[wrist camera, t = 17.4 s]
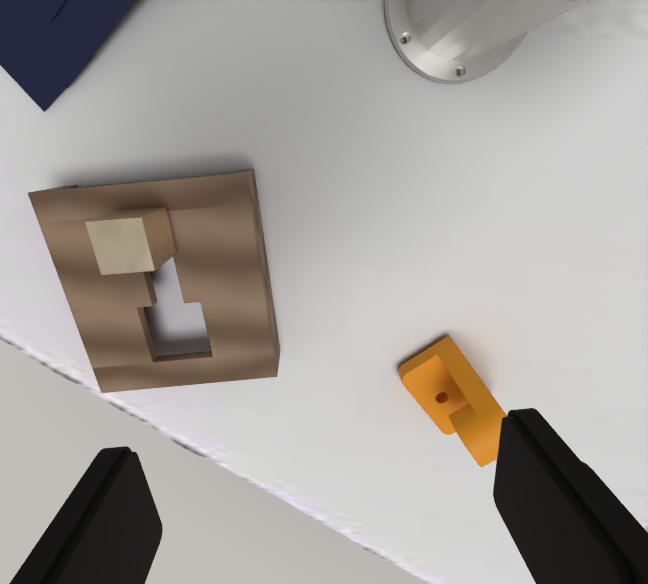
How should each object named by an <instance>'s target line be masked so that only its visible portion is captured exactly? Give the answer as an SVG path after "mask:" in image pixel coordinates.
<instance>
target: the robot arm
mask: <svg viewBox="0 0 648 584" xmlns="http://www.w3.org/2000/svg"><path fill="white" fill-rule="evenodd" d="M586 1H588V0H385V16H386V21H387V27H388V31H389V33H390V36H391V39H392V42H393V44H394V46H395V48H396V49H397V51H398V53H399V55H400V56H401V58H402V59H403V60H404V61H405V62H406V63H407V64H408V65H409V67H410V68H412V69H413V70H414V71H416V72H417V73H418V74H420V75H421V76H423V77H425V78H428V79H430V80H432V81H436V82H441V83H462V82H466V81H470V80H474V79H476V78H478V77H481V76H483V75H485V74H487V73H489V72H490V71H492V70H494V69H495V68H497V67H498V66H499V65H500V64H502V63H503V62H504V61H505V60H506V59H507V58H509V56H510V55H511V54H512V53H513V52H514V50H515V49H516V48H517V47H518V46H519V45H520V43H521V41H522V40H523V38H524V37H525V35H526V33H527V32H528V31H529V30H531V29H533V28H535V27H537V26H539V25H541V24H543V23H545V22H547V21H549V20H551V19H552V18H554V17H556V16H558V15H560V14H562V13H564V12H566V11H568V10H570V9H572V8H574V7H576V6H578V5H580V4H582V3H584V2H586ZM401 38H405V39H406V43H405V44H402V43H401ZM456 70H458V71H459V76H457V75H456ZM493 496H494V501H495V504H496V507H497V509H498V511H499V513H500V515H501V517H502V519H503V521H504V523H505V525H506V527H507V528H508V530H509V532H510V534H511V536H512V538H513V540H514V542H515V544H516V546H517V548H518V550H519V552H520V554H521V555H522V557H523V559H524V561H525V563H526V565H527V567H528V569H529V571H530V573H531V575H532V577H533V579H534V581H535V582H536V584H648V533H647V532H646V530H645V529H644V528H643V527H642V526H641V525H640V524H639V522H638V521H637V520H636V519H635V518H634V517H633V516H632V514H631V513H630V512H629V511H628V510H627V509H626V508H625V506H624V505H623V504H622V503H621V502H620V501H619V500H618V498H617V497H616V496H615V495H614V494H613V493H612V492H611V490H610V489H609V488H608V487H607V486H606V485H605V483H604V482H603V481H602V480H601V479H600V478H599V477H598V475H597V474H596V473H595V472H594V471H593V470H592V469H591V468H590V467H589V466H588V465H587V464H586V463H584V462H582V461H580V460H579V458H578V457H577V456H576V455H575V454H574V453H573V451H572V450H571V449H570V448H569V447H568V446H567V444H566V443H565V442H564V441H563V440H562V439H561V437H560V436H559V435H558V434H557V433H556V432H555V430H554V429H553V428H552V427H551V426H550V425H549V423H548V422H547V421H546V420H545V419H544V418H543V416H542V415H541V414H540V413H539V412H538V411H537V410H536V409H534V408H529V409H519V410H510V411H509V412H508V415H507V417H503V418H502V422H501V431H500V439H499V448H498V456H497V465H496V473H495V482H494V490H493ZM161 537H162V523H161V520H160V517H159V514H158V511H157V509H156V506H155V503H154V500H153V497H152V494H151V492H150V489H149V486H148V483H147V480H146V477H145V474H144V472H143V469H142V466H141V463H140V460H139V457H138V455H137V453H136V452H132V451H131V450H130V448H129V447H115V448H104V449H102V450H101V451H100V452H99V453H98V454H97V456H96V457H95V459H94V460H93V461H92V463H91V465H90V466H89V468H88V469H87V470H86V472H85V473H84V475H83V476H82V478H81V479H80V481H79V482H78V484H77V485H76V487H75V488H74V490H73V491H72V493H71V494H70V495H69V497H68V498H67V500H66V501H65V503H64V504H63V506H62V507H61V509H60V510H59V512H58V513H57V515H56V516H55V518H54V519H53V521H52V522H51V523H50V525H49V526H48V528H47V529H46V531H45V532H44V534H43V535H42V537H41V538H40V540H39V541H38V543H37V544H36V546H35V547H34V549H33V550H32V552H31V553H30V555H29V556H28V557H27V559H26V561H25V562H24V563H23V565H22V566H21V568H20V569H19V571H18V572H17V574H16V575H15V577H14V578H13V580H12V581H11V582H10V584H145V581H146V578H147V576H148V573H149V570H150V568H151V565H152V562H153V560H154V557H155V554H156V552H157V549H158V546H159V544H160V541H161Z"/></svg>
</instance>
